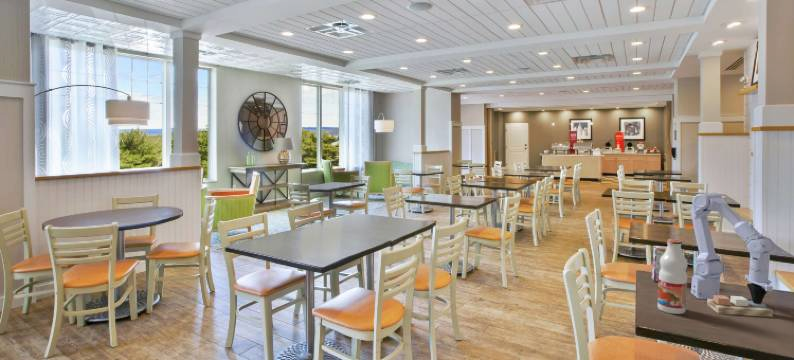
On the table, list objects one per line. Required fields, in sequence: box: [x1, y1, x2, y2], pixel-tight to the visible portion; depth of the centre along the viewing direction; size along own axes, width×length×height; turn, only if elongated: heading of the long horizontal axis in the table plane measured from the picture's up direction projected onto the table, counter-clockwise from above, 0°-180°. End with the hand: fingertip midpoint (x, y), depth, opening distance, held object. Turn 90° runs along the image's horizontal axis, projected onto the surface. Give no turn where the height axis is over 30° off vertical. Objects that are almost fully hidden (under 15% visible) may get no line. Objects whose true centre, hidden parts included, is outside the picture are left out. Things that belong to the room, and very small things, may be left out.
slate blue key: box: [748, 300, 767, 308], centre depth 168 cm, size 4×4×2 cm
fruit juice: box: [657, 238, 688, 315], centre depth 170 cm, size 9×9×28 cm
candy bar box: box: [651, 245, 683, 283], centre depth 204 cm, size 11×5×16 cm, turn 71°
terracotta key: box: [713, 294, 731, 305], centre depth 171 cm, size 4×4×2 cm
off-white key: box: [729, 295, 749, 306], centre depth 169 cm, size 4×4×2 cm
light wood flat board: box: [706, 299, 774, 318], centre depth 170 cm, size 18×9×2 cm, turn 77°
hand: (756, 303), depth 168 cm, fingers closed, pressing on slate blue key
